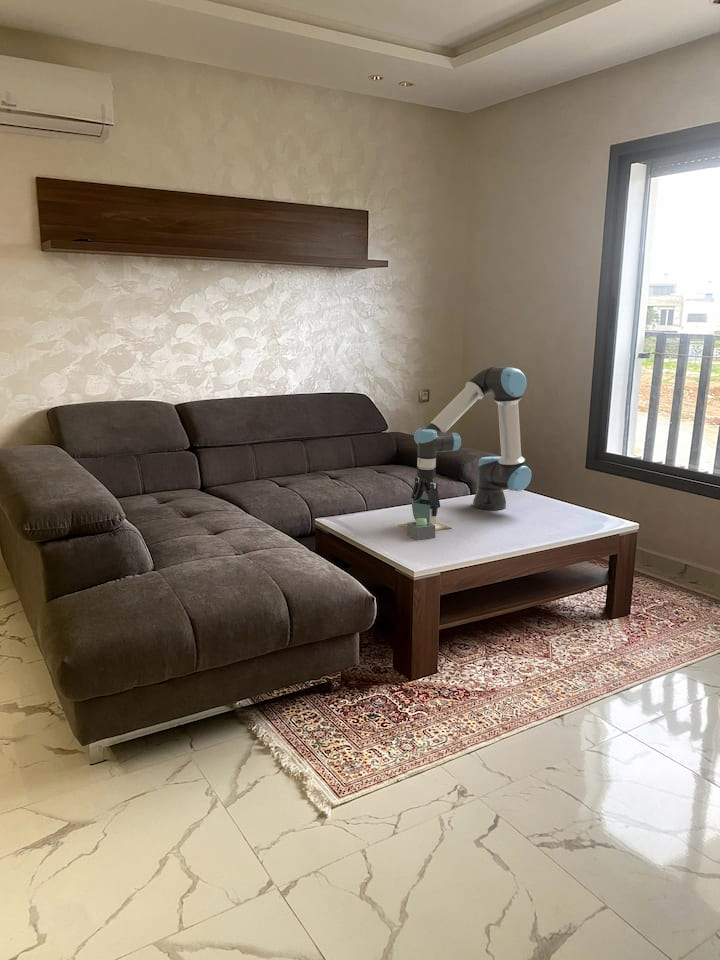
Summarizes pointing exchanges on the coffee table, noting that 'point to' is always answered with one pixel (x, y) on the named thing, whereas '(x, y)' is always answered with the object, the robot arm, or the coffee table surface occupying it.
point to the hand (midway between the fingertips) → (424, 520)
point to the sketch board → (438, 525)
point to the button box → (420, 531)
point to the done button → (421, 521)
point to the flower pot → (421, 509)
